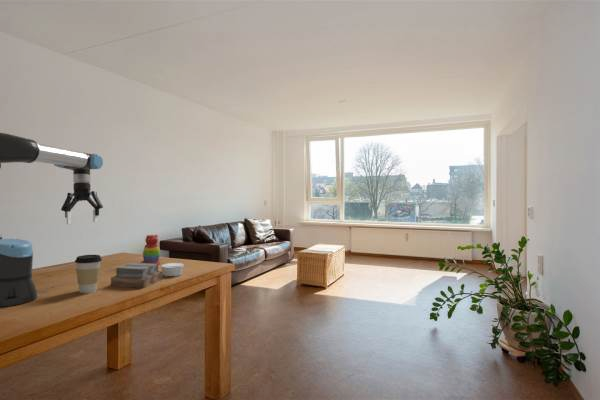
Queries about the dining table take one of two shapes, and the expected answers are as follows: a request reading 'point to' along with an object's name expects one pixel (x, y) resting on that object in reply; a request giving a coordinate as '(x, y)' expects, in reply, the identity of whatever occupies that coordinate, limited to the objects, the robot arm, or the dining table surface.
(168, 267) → the ramekin
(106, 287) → the dining table surface
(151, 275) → the grey stacked platform
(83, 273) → the coffee cup
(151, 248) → the stacking bear
